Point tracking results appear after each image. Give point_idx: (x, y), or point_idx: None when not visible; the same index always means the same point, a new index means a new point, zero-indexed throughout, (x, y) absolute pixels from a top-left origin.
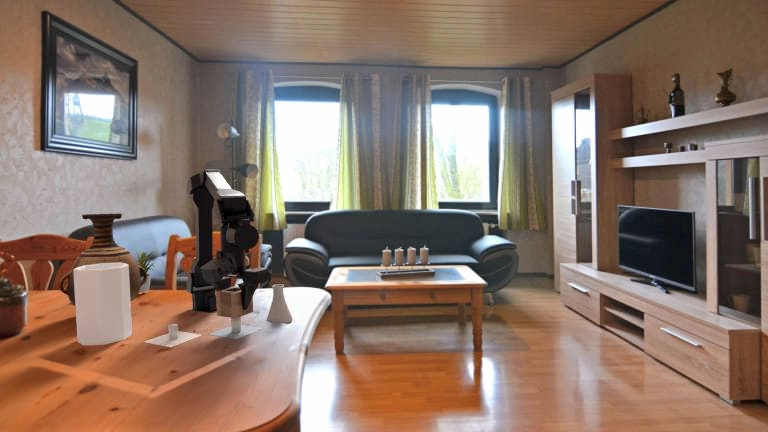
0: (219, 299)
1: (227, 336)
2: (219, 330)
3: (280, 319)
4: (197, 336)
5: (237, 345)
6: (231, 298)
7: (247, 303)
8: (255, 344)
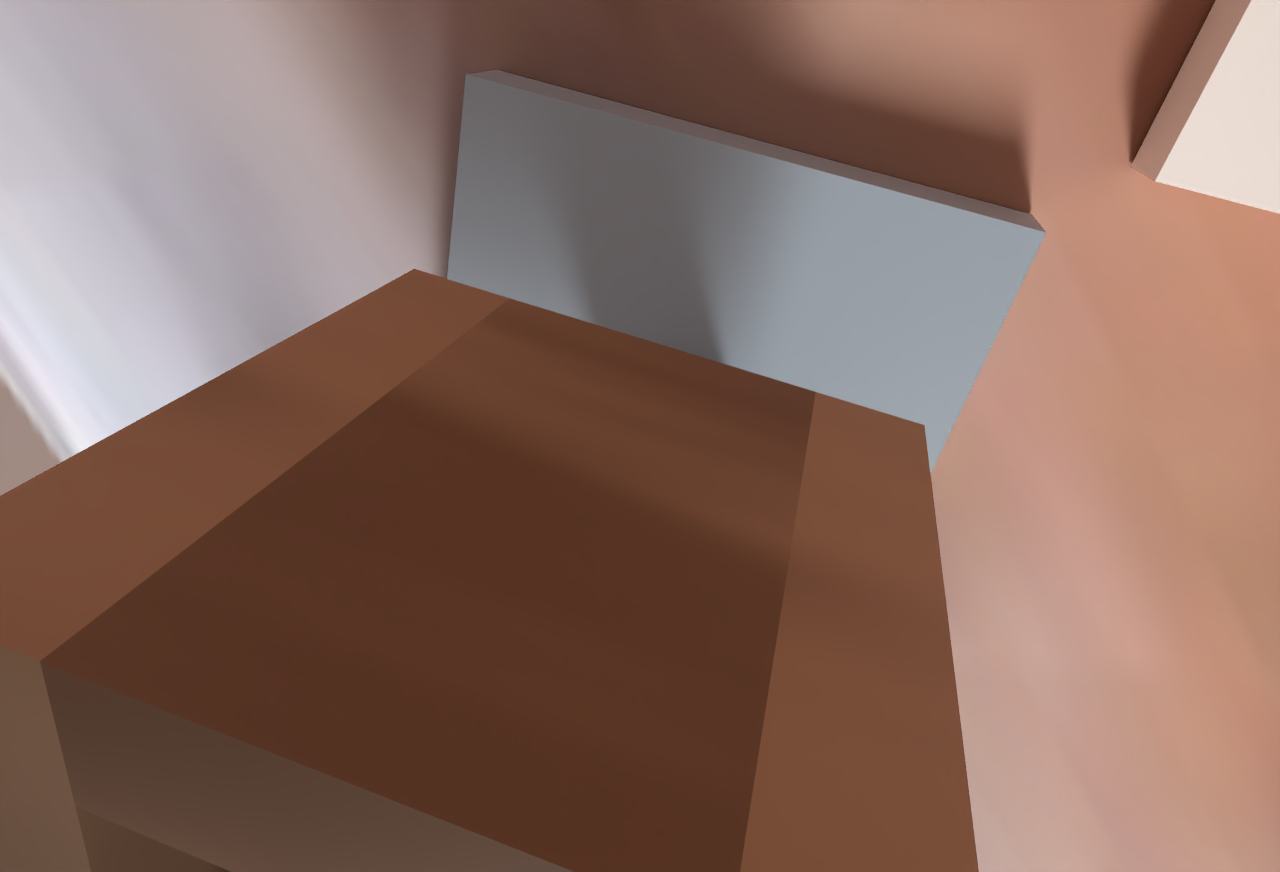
0: (801, 650)
1: (670, 169)
2: (944, 425)
3: None
4: (1229, 88)
5: (467, 25)
6: (208, 513)
7: None
8: (285, 109)
